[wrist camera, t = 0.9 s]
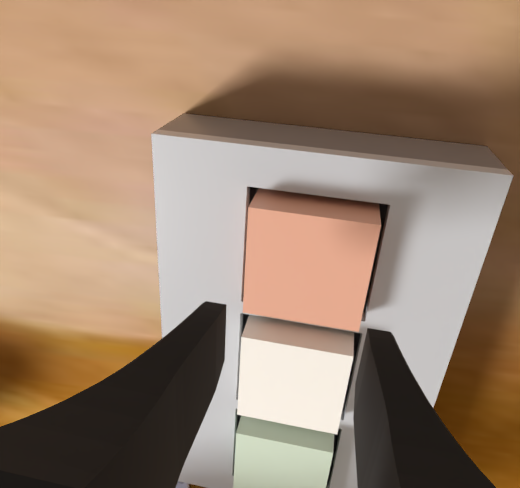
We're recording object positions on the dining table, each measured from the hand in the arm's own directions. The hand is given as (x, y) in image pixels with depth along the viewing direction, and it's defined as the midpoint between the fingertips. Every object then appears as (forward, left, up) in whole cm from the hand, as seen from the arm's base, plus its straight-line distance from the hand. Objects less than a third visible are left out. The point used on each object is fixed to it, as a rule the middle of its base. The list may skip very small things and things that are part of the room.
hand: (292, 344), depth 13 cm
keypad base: (-6, 0, -8) cm, 10 cm away
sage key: (-11, 0, -6) cm, 13 cm away
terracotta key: (0, 0, -6) cm, 6 cm away
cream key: (-6, 0, -6) cm, 8 cm away
